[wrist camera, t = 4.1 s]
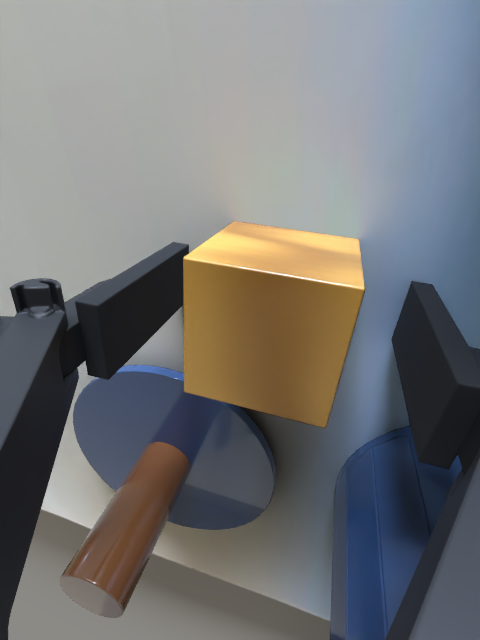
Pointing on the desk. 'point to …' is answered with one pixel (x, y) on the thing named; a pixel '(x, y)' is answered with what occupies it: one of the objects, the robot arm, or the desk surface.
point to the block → (270, 318)
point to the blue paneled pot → (381, 531)
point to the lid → (159, 475)
